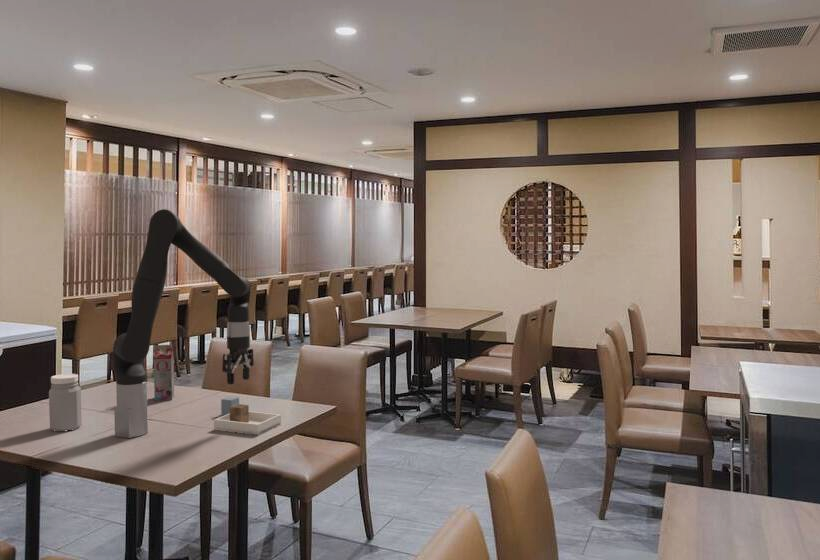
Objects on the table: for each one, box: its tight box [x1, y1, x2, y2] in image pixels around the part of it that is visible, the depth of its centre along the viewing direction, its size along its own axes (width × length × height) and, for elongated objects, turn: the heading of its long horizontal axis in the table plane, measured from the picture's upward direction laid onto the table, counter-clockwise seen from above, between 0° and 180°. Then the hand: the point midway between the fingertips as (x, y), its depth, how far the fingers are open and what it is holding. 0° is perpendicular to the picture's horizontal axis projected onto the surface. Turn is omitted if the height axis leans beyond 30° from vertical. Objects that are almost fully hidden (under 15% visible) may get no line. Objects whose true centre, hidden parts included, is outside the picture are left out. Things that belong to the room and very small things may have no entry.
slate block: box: [220, 396, 240, 416], centre depth 235 cm, size 4×4×6 cm
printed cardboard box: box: [153, 344, 175, 402], centre depth 259 cm, size 7×7×22 cm
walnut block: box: [230, 403, 250, 423], centre depth 219 cm, size 4×4×6 cm
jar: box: [48, 373, 83, 432], centre depth 216 cm, size 10×10×18 cm
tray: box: [213, 410, 282, 436], centre depth 218 cm, size 14×18×4 cm
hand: (238, 381), depth 218 cm, fingers open, 8 cm apart
